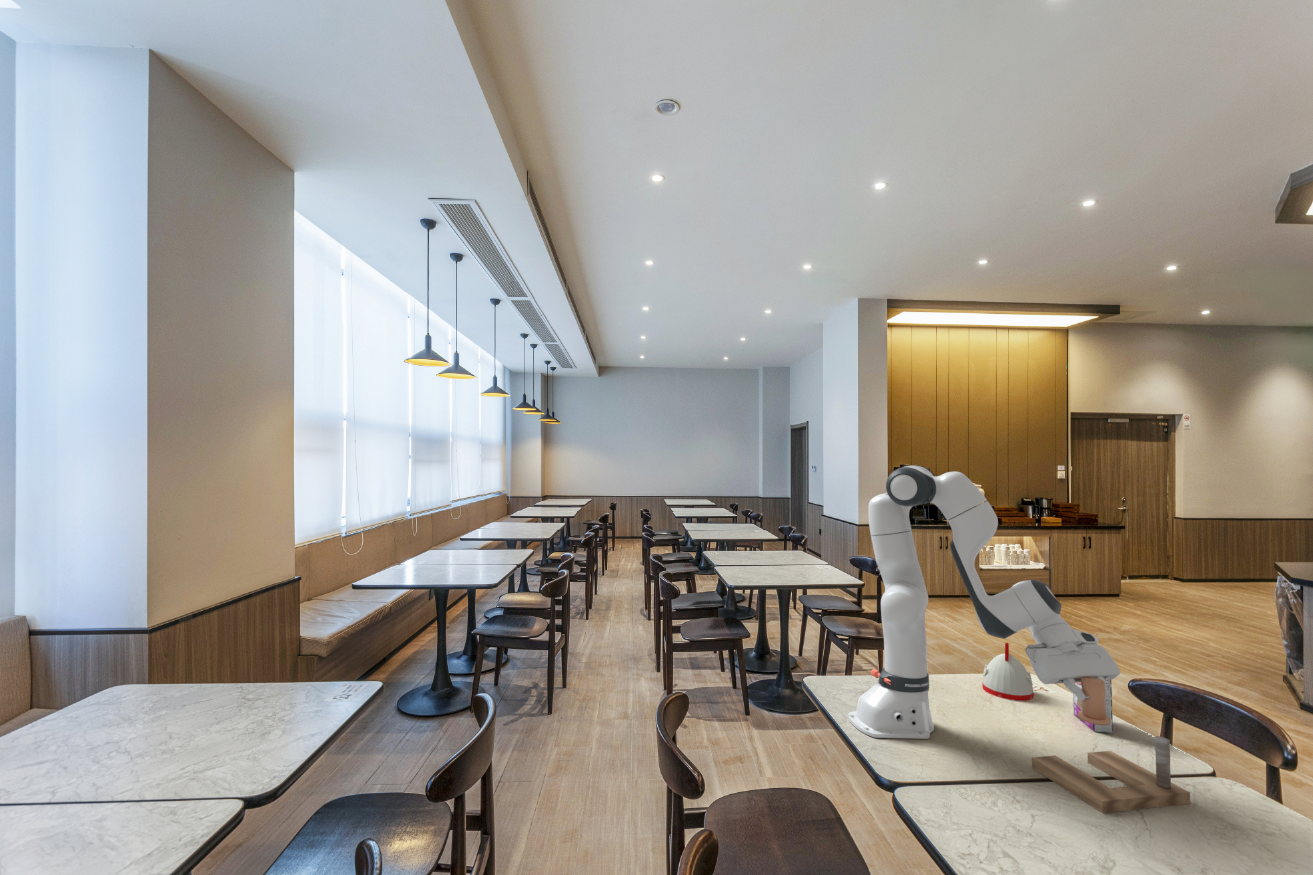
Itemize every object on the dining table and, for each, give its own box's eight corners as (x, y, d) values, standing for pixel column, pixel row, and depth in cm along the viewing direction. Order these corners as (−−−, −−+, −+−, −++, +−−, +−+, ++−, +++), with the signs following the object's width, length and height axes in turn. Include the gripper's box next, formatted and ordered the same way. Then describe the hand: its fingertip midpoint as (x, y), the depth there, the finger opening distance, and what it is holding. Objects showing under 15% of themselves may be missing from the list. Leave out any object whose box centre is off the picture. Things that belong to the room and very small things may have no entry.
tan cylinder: (1094, 726, 130) (1093, 685, 131) (1071, 714, 136) (1070, 676, 137) (1117, 724, 131) (1116, 684, 132) (1093, 713, 137) (1092, 674, 138)
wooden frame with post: (1102, 812, 120) (1100, 751, 120) (1032, 767, 137) (1031, 714, 138) (1190, 803, 123) (1188, 744, 124) (1110, 760, 141) (1109, 709, 142)
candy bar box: (1072, 714, 167) (1071, 657, 168) (1091, 716, 166) (1090, 658, 167) (1093, 732, 156) (1091, 670, 157) (1114, 734, 155) (1112, 672, 156)
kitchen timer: (1033, 689, 186) (1032, 642, 186) (1033, 704, 174) (1033, 654, 175) (983, 680, 193) (983, 635, 194) (981, 694, 182) (980, 645, 182)
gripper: (1028, 638, 140) (1064, 695, 130) (1101, 634, 143) (1141, 690, 133) (1014, 651, 144) (1048, 707, 134) (1085, 647, 147) (1123, 702, 137)
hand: (1095, 698), depth 133 cm, fingers closed on tan cylinder, 4 cm apart
